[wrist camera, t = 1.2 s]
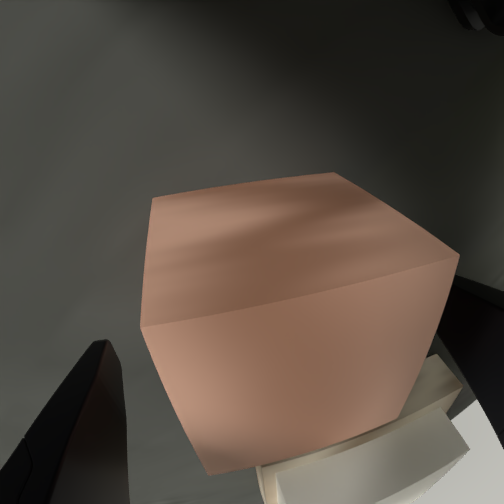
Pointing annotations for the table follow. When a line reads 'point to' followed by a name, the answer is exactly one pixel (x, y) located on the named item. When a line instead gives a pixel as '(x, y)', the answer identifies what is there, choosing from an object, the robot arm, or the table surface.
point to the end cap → (480, 14)
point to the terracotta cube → (287, 314)
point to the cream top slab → (379, 467)
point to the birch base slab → (417, 405)
